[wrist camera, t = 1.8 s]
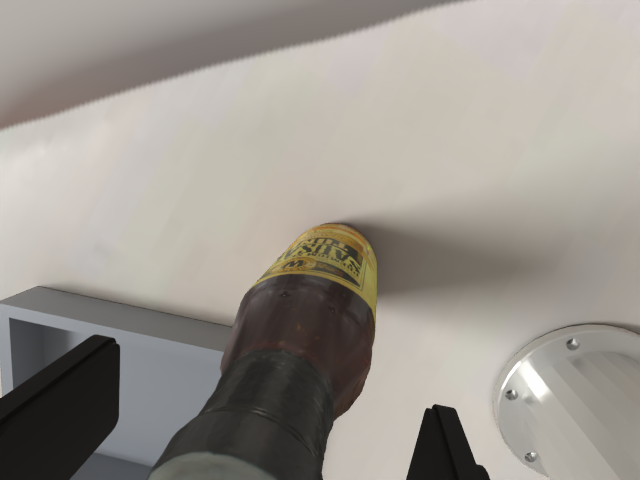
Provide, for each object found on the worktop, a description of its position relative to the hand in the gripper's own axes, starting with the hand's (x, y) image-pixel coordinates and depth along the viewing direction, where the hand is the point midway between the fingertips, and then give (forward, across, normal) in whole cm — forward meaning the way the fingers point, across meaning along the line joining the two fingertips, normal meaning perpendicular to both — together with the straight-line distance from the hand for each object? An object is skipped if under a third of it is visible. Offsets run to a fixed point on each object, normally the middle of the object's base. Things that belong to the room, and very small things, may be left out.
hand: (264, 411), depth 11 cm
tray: (+17, +12, +15) cm, 26 cm away
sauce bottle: (+17, -1, 0) cm, 17 cm away
